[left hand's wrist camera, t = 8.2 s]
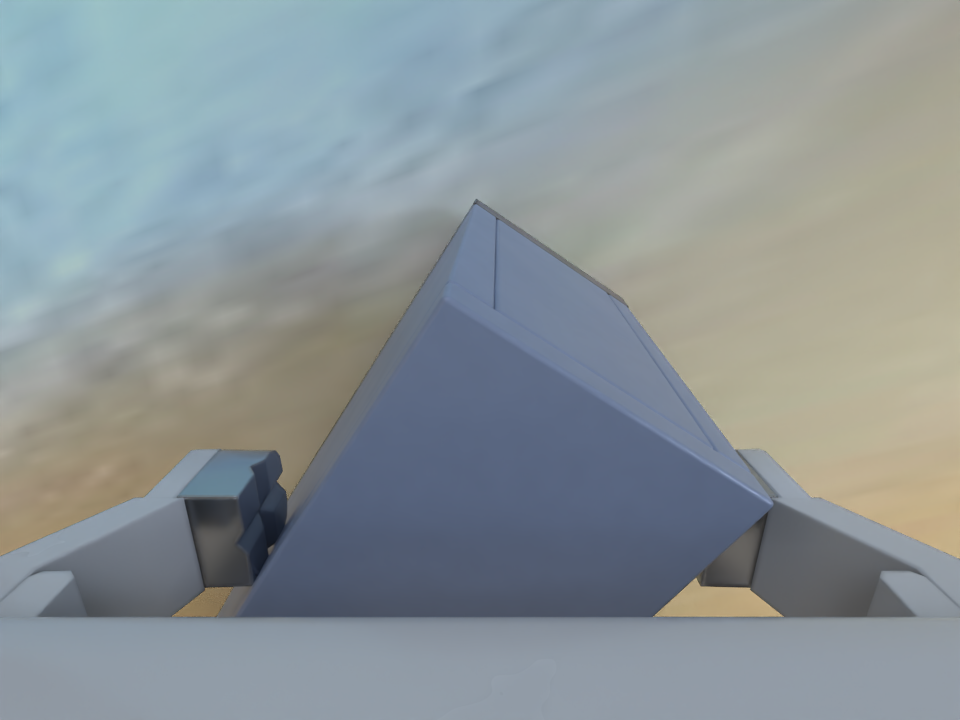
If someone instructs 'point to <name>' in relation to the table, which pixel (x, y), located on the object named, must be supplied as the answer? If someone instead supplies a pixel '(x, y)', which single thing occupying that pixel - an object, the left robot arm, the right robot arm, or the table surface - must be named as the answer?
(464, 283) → the cabinet
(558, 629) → the left robot arm
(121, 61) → the table surface
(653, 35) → the table surface
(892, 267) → the table surface
